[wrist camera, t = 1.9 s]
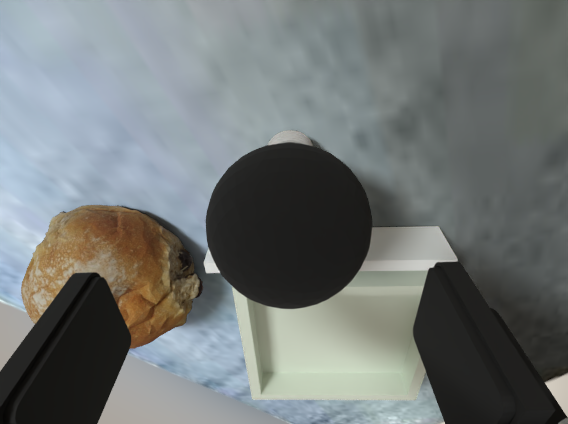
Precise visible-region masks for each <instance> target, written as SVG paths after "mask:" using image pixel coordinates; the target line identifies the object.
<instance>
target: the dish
mask: <svg viewBox="0 0 568 424" xmlns="http://www.w3.org/2000/svg"><path fill="white" fill-rule="evenodd" d="M427 273H428V270H424V271H358V273H357V274H356V276H355V277H354V278H353V280H352V281H351V282H350V283H349V284H348V285H347V286H346V287H345V288H344V289H343V290H341V291H340V292H339V293H337V294H336V295H334V296H333V297H331V298H329V299H328V300H326V301H323V302H321V303H319V304H316V305H313V306H309V307H305V308H298V309H280V308H274V307H269V306H265V305H262V304H260V303H257V302H254V301H252V300H250V299H248V298H246V297H245V296H244V295H242V294H241V293H239V292H238V291H237V290H236V289H235V288H234V287H233V286H232V290H233V296H234V301H235V307H236V312H237V318H238V323H239V329H240V334H241V340H242V345H243V351H244V356H245V362H246V367H247V373H248V378H249V384H250V389H251V395H252V400H416V398H417V395H418V392H419V390H420V387H421V384H422V381H423V379H424V376H425V373H426V370H425V368H424V365H423V362H422V360H421V357H420V354H419V351H418V349H417V346H416V343H415V341H414V337H413V325H414V322H415V318H416V314H417V310H418V307H419V303H420V299H421V295H422V292H423V288H424V284H425V280H426V277H427Z"/></svg>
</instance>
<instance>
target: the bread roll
mask: <svg viewBox="0 0 568 424" xmlns="http://www.w3.org/2000/svg"><path fill="white" fill-rule="evenodd" d="M88 272H97V273H98V274H99V275H100V276H101V277H104V278H105V279H106V281H107V283H108V285H109V288H110V290H111V292H112V294H113V296H114V299H115V301H116V303H117V305H118V307H119V310H120V312H121V314H122V316H123V318H124V321H125V323H126V325H127V327H128V329H129V332H130V334H131V346H130V348H136V347H140V346H143V345H146V344H148V343H150V342H152V341H153V340H155V339H156V338H158V337H159V336H161V335H163V334H164V333H166V332H168V331H170V330H171V329H173V328H175V327H178V326H182V325H183V324H185V323H186V319H187V314H188V313H189V312H190V310H191V309H192V302H193V301H192V300H193V298H197V297H199V296H200V294H201V292H202V290H203V286H202V283H203V282H202V280H201V279H200V278H199V277H198V275H196V274H195V273H194V263H193V258H192V257H191V256H190V253H189V252H188V251H187V250H186V249H185V248H184V247H183V245H182V243H181V241H180V240H179V239H178V237H176V236H175V235H174V234H173V233H171V232H170V231H168V230H167V229H165V228H164V227H162V226H161V225H160V224H159V223H158V222H157V221H156V220H155V219H153V218H151V217H150V216H148V215H147V214H142V213H140V212H139V211H136V210H130V209H127V208H123V207H121V206H118V205H117V206H103V205H87V206H81V207H79V208H76V209H74V210H72V211H70V212H67V213H65V212H61V213H60V214H58V215H57V216H55V217H53V218H52V220H51V222H50V225H49V229H48V232H47V233H46V237H45V238H44V240H43V242H42V243H41V244H39V245H38V246H37V247H36V251H35V252H34V253H33V257H32V259H31V262H30V264H29V266H28V268H27V271H26V274H25V277H24V279H23V281H22V287H21V294H22V299H23V303H24V305H25V308H26V310H27V313H28V315H29V316H30V318H31V320H32V321H33V322H34V323H35V324H36V323H37V321H38V320H39V318H40V317H41V316H42V314H43V313H44V312H45V310H46V309H47V308H48V306H49V305H50V304H51V302H52V301H53V300H54V298H55V297H56V296H57V294H58V293H59V292H60V290H61V289H62V287H63V286H64V285H65V283H66V282H67V281H68V279H69V278H70V277H71V276H72V275H73V274H75V273H88Z"/></svg>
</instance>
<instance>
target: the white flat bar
mask: <svg viewBox="0 0 568 424" xmlns="http://www.w3.org/2000/svg"><path fill="white" fill-rule="evenodd" d="M457 261H458V259H457V257H456V255H455V254H454V252H453V250H452V249H451V247H450V245H449V243H448V242H447V240H446V238H445V237H444V235H443V233H442V231H441V230H440V228H439V226H422V227H372V234H371V241H370V247H369V251H368V254H367V256H366V258H365V260H364V262H363V264H362V266H361V268H360V270H359V271H424V270H429V268H432V267H434V265H435V264H436V263H437V262H457ZM204 266H205V271H206V273H220V271H219V270H218V268H217V266H216V264H215V262H214V260H213V258H212V256H211V253H210V250H209V248H208V251H207V254H206V257H205V260H204Z"/></svg>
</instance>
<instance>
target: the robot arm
mask: <svg viewBox="0 0 568 424" xmlns="http://www.w3.org/2000/svg"><path fill="white" fill-rule="evenodd" d="M413 337H414V341H415V343H416V346H417V349H418V351H419V354H420V357H421V360H422V362H423V365H424V368H425V370H426V373H427V376H428V378H429V381H430V384H431V386H432V389H433V392H434V394H435V397H436V400H437V403H438V405H439V408H440V411H441V413H442V416H443V419H444V421H445V424H568V418H567V416H566V415H565V413H564V412H563V410H562V409H561V407H560V406H559V404H558V402H557V401H556V400H555V398H554V396H553V395H552V393H551V392H550V390H549V389H548V388H547V386H546V384H545V383H544V381H543V380H542V378H541V377H540V375H539V374H538V372H537V371H536V369H535V368H534V366H533V365H532V363H531V362H530V360H529V359H528V357H527V356H526V354H525V353H524V351H523V350H522V348H521V347H520V345H519V344H518V342H517V341H516V339H515V338H514V336H513V335H512V333H511V332H510V330H509V329H508V327H507V325H506V324H505V322H504V321H503V319H502V318H501V316H500V315H499V314H498V313H497V312H496V311H495V310H493V309H492V308H489V306H488V305H487V303H486V302H485V300H484V298H483V297H482V295H481V294H480V292H479V291H478V289H477V288H476V286H475V285H474V283H473V281H472V280H471V278H470V277H469V275H468V274H467V272H466V271H465V269H464V267H463V266H462V265H461V263H459V262H437V263H436V264H435V265H434V267H432V268H429V270H428V273H427V277H426V280H425V284H424V288H423V292H422V295H421V299H420V303H419V307H418V310H417V314H416V318H415V322H414V325H413ZM130 346H131V334H130V332H129V329H128V327H127V325H126V323H125V321H124V318H123V316H122V314H121V312H120V310H119V307H118V305H117V303H116V301H115V299H114V296H113V294H112V292H111V290H110V288H109V285H108V283H107V281H106V279H105V278H104V277H101V276H100V275H99V274H98V273H97V272H88V273H75V274H73V275H72V276H71V277H70V278H69V279H68V281H67V282H66V283H65V285H64V286H63V287H62V289H61V290H60V292H59V293H58V294H57V296H56V297H55V298H54V300H53V301H52V302H51V304H50V305H49V306H48V308H47V309H46V310H45V312H44V313H43V314H42V316H41V317H40V318H39V320H38V321H37V323H36V324H35V325H34V327H33V328H32V329H31V331H30V332H29V333H28V335H27V336H26V337H25V339H24V340H23V342H22V343H21V344H20V346H19V347H18V348H17V350H16V351H15V352H14V354H13V355H12V356H11V358H10V359H9V360H8V362H7V363H6V364H5V366H4V367H3V369H2V370H1V371H0V424H97V423H98V420H99V419H100V416H101V414H102V411H103V409H104V407H105V404H106V402H107V400H108V397H109V395H110V393H111V390H112V388H113V386H114V383H115V381H116V379H117V376H118V374H119V372H120V370H121V367H122V365H123V362H124V360H125V358H126V355H127V353H128V351H129V349H130Z"/></svg>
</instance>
